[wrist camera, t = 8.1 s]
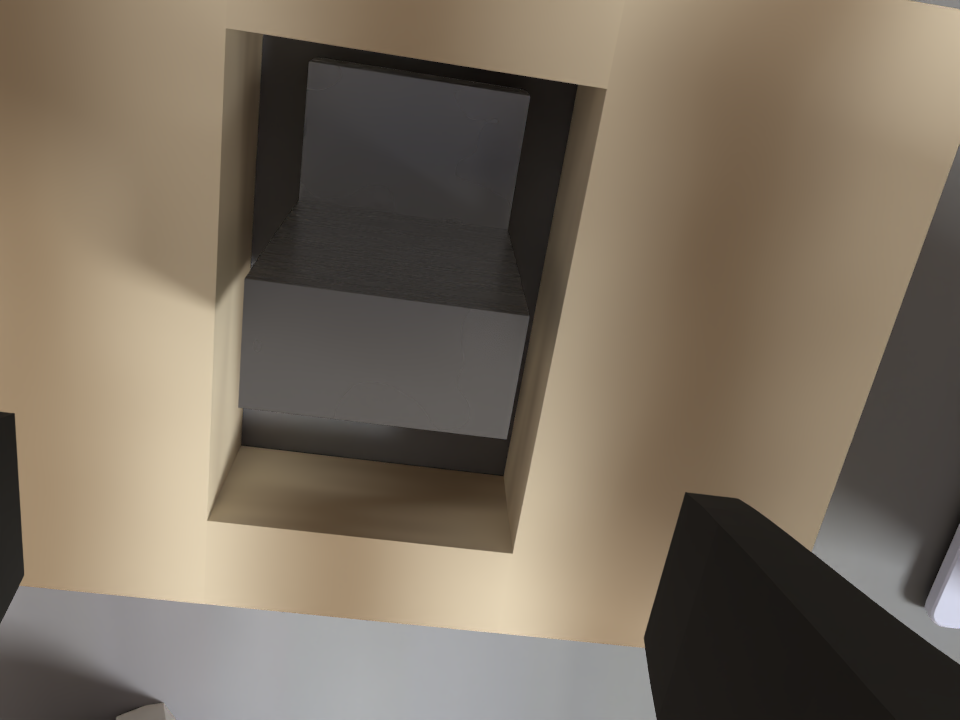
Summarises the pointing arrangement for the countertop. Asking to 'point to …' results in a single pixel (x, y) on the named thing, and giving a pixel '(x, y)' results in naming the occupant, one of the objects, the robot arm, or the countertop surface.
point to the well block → (557, 320)
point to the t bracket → (394, 258)
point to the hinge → (148, 713)
